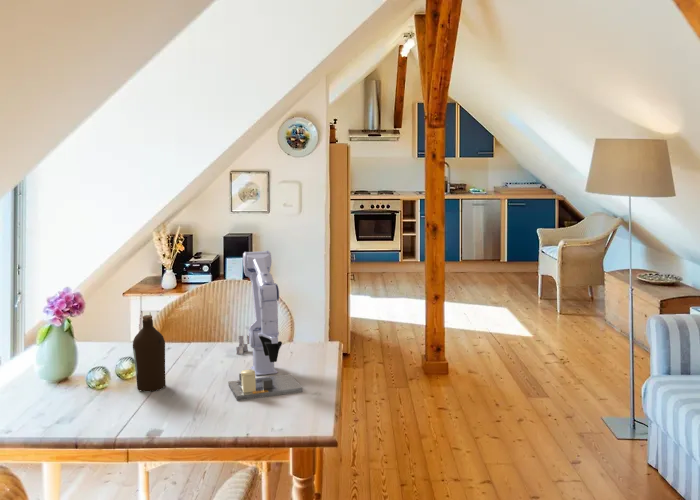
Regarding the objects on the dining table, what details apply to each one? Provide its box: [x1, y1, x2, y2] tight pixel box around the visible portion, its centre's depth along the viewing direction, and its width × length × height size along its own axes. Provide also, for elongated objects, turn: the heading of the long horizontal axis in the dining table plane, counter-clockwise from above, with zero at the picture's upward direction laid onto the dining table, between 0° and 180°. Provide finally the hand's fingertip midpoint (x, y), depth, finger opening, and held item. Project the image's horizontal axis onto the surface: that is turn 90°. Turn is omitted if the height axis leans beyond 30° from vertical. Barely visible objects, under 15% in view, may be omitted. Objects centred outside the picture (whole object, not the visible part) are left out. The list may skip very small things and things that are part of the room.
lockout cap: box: [240, 368, 256, 393], centre depth 249 cm, size 5×5×6 cm
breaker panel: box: [227, 373, 303, 401], centre depth 254 cm, size 15×22×2 cm
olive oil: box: [132, 314, 166, 392], centre depth 256 cm, size 11×11×25 cm
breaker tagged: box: [262, 378, 273, 389], centre depth 251 cm, size 2×3×3 cm
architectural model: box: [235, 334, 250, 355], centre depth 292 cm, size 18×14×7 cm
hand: (270, 358), depth 257 cm, fingers open, 7 cm apart
